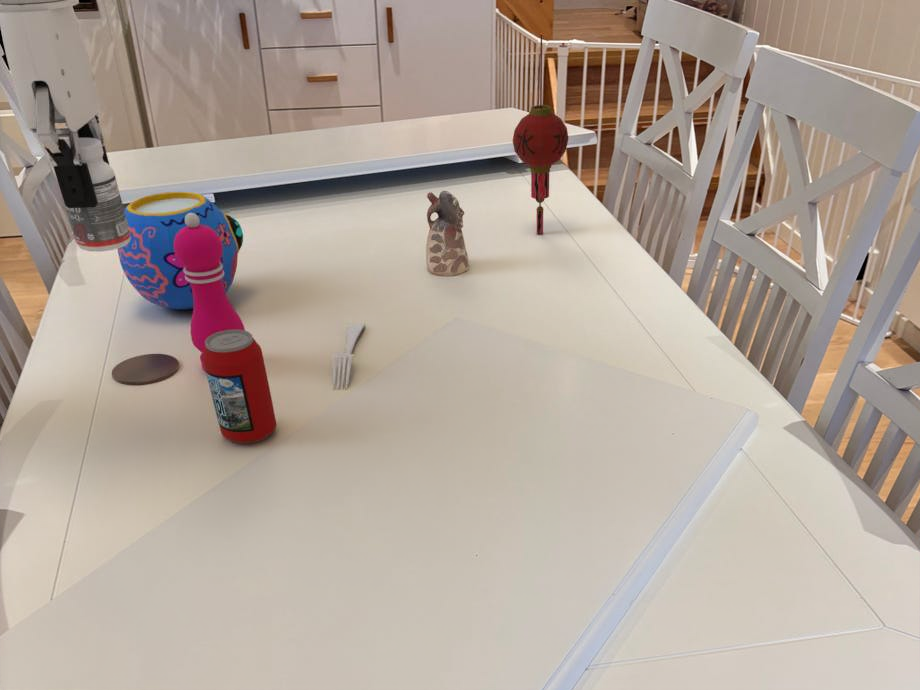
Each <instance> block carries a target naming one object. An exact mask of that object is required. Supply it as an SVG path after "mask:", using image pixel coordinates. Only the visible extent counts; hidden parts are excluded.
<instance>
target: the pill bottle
mask: <svg viewBox="0 0 920 690" xmlns="http://www.w3.org/2000/svg"><path fill="white" fill-rule="evenodd" d="M64 140H65V141H66V143H67V144H68V146H69V147H70V142H69V138H65V139H64ZM79 144H80V150H81V156H82V163H87V165H88V169H89V173H90V176H91V180H92V183H93V187H94V190H95V194H96V197H97V201H98V204H97V206H96V207H89V208H68V207H66V206H65V203H64V202H63V204H64V207H65V211H66V213H67V216H68V220H69V224H70V227H71V230H72V234H73V238H74V241H75V243H76V245H77V247H78V248H79V249H81V250H82V251H86V252H93V253H100V252H108V251H109V252H110V251H113V250H114V251H115V250H118V248H121V247H123V246H125V245H127V244H128V243H129V242H130V240H131V235H130V231H129V227H128V223H127V219H126V215H125V212H124V210H125V208H124V205H123V201H122V196H121V193H120V190H119V185H118V181H117V178H116V174H115V171H114V169H113V167H112V166H111V164H110V163H109V164H107V163H106V162H104V161H103V158H102V157H103V154H104V152H103V148H102V146H103V145H101V141H100V140H98V139H95V138H79ZM60 194H61V195H62V193H61V192H60Z"/></svg>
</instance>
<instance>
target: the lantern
mask: <svg viewBox="0 0 920 690" xmlns="http://www.w3.org/2000/svg"><path fill="white" fill-rule="evenodd" d="M539 50H540V59H539V60H540V61H539V62H540V63H539V64H540V65H539V66H540V67H539V69H540V71H539V73H540V74H539V75H540V76H539V82H540V83H539V104H538V105H536V104H535V105H532V106H530V110H529V113H528V114H526V115H525V116H523V117H522V118H521V119H520V120H519V122H518V124H517V125H516V126H515V129H514V131H513V137H512V145H513V149H514V153H515V154H516V155H517V157H518V158H519V160H520V161H521V162H522V163H523V164H525V165H527V166H528V168H529V169H530V181H531V182H530V187H531V188H530V197H531V198H532V199H534V200H535V201H536V203H537V204H538V206H537V207H536V235H539V236H540V235H541V236H542V235H543V234H544V211H545V210H544V207H543V206H542V203H543V202H545V199H549V197H550V172H551V169H552V165H554V164H556V163H558V162H559V161H560V160H561V159H562V157H563V156H564V154H565V153H566V151H567V147H568V144H569V133H568V128H567V126H566V124H565V122H564V121H563V119H562V118H561V117H559V116H558V115H556V114H555V113H553V110H552V106H551V105H547V104H543V34H540V49H539Z"/></svg>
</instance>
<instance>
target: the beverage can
mask: <svg viewBox="0 0 920 690" xmlns="http://www.w3.org/2000/svg"><path fill="white" fill-rule="evenodd" d="M205 344H206V345H205V349H204V352H203V356H202V358H203V362H204V366H205V371H206V372H205V371H204V372H205V375H206V380H207V383H208V387H209V391H210V395H211V398H212V403H213V407H214V412H215V414H216V419H217V422H218V426H219V429H220V430H219V431H220V434H221V435H222V437H224V438H225V439H227V440H229V441H232V442H235V443H237V444H253V443H257V442H260V441H262V440H265V439H266V438H268V436H270V435H271V434H272V433H273V432H274V431H275V429H276V428H277V420H276V414H275V410H274V404H273V399H272V393H271V389H270V383H269V379H268V375H267V374H268V373H267V370H266V365H265V360H264V355H263V350H262V348H261V345H260V344H259V343H258V341H256V339H255V338H254V336H253V334H252V333H251V332H249V331H247V330H245V331H244V330H225V331H221V332H217V333H215V334H212V335H211V336H209V337H208V338H207V339H206V341H205Z"/></svg>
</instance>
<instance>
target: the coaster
mask: <svg viewBox="0 0 920 690" xmlns="http://www.w3.org/2000/svg"><path fill="white" fill-rule="evenodd" d="M179 368H180V362H179V360H178V359H177V358H176V357H174V356H173V355H170V354H165V353H147V354H141V355H136V356H132V357H130V358H127V359H124V360H122V361H121V362H119V363H118V364H115V366H114V367H113V369H112V370H111V377H112V379H113V380H114V381H116V382H117V383H119V384H123V385H129V386H140V385H149V384H153V383H158V382H160V381H163V380H166V379H168V378H170V377H171V376H173V375H174V374H175V373H177V372H178V371H179Z"/></svg>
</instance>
